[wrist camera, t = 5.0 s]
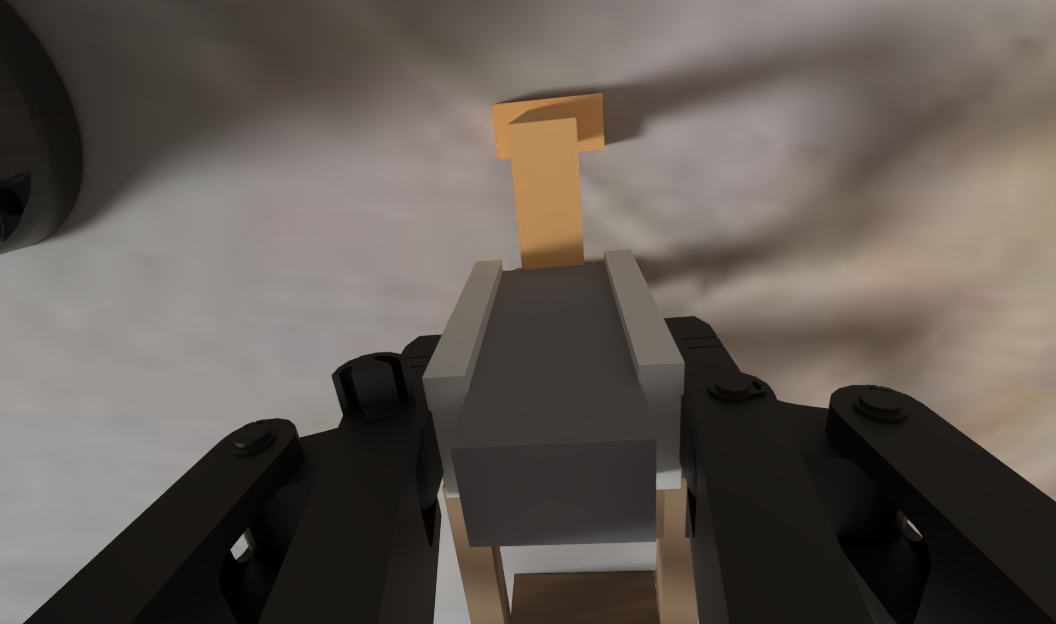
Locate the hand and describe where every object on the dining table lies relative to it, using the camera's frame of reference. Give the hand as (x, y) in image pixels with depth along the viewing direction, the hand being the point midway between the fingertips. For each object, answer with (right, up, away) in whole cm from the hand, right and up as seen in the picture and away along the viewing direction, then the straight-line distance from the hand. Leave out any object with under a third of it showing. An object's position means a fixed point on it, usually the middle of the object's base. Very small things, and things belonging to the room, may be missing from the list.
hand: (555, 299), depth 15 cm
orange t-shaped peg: (+1, +5, +11) cm, 12 cm away
